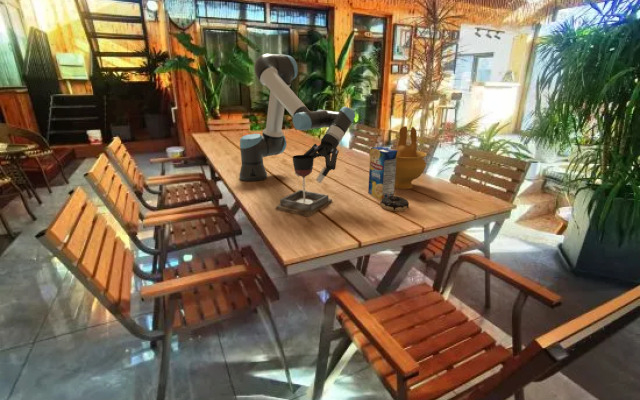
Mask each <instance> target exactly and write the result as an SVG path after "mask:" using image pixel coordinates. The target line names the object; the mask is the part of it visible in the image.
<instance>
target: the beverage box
mask: <svg viewBox="0 0 640 400" xmlns="http://www.w3.org/2000/svg"><path fill="white" fill-rule="evenodd" d="M396 163H397V150H393V148H388V147H386V146H375V147H370V150H369V173H368V191H367V193H368V194H369V195H371V196H373V197H375V198H377V199H379V200H381V201H382V199H383V198H385V197H389V196H395V176H396Z"/></svg>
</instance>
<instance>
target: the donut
mask: <svg viewBox="0 0 640 400" xmlns="http://www.w3.org/2000/svg"><path fill="white" fill-rule="evenodd" d="M409 204H410V202H409V201H408V200H407V199H406V198H404V197H402V196H397V195H394V196H389V197H385V198H383V199H382V200H381V201H380V203H379V205H380V206H381V208H382V209H384V210H386V211H390V212H403V211H406V210H408V209H409Z"/></svg>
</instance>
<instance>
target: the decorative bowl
mask: <svg viewBox="0 0 640 400" xmlns="http://www.w3.org/2000/svg"><path fill="white" fill-rule="evenodd" d="M398 133H399V140H398V142H397V145H396V149H395V148H394V149H393V148H392V149H393V150H397V163H396V176H395V188H396V189H399V190H400V189H402V190H408V189H412V188H413V184H412V181H414V180H417V179H418V178H419V177H421V175H422V174H423V173H424V171H425V169H426V167H427V163H426V161H425V160H424V158H425V157H427V153H426V152H424V151H420V150H418V143H417V141H418V140H417V139H418V138H417V137H418V136H417V134H418V133H417V130H416V128H415V127H414V126H412V127H411V128H410V133H409V135H410V144H409V145H407V139H408V126H407V125H405V126H402V127H400V129H399V132H398ZM395 188H394V189H395Z"/></svg>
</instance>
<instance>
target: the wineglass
mask: <svg viewBox="0 0 640 400" xmlns="http://www.w3.org/2000/svg"><path fill="white" fill-rule="evenodd" d="M314 159H315V158H314V156H312V155H304V154H297V155H293V156H292V162H293V167H294V173H295V172H296V173H297V174H298V175H299V177H302V190H303V199H301V200H297V201H296V202H300V203H304V204H311V203H313V201H312V200H309V199H305V191H306V187H305V186H306V184H305V181H306V180H305V178H306V177H307V176H309V175H310V174H312V172H313V168H314V161H315V160H314Z"/></svg>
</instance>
